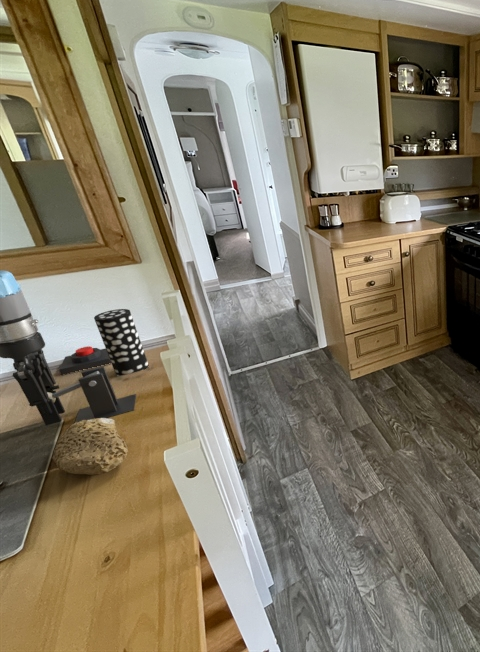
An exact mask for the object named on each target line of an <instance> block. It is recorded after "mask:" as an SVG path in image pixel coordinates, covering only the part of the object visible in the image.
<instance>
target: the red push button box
mask: <svg viewBox="0 0 480 652" xmlns="http://www.w3.org/2000/svg"><path fill="white" fill-rule="evenodd" d="M92 349H93V351H94V352H93V353H91V354H89V355H85V356H77V354H76V352H75V351H74V353H72V354H71V355H67V356H65V357H64V358H63V360H62V362H61V365H60V367H59V368H58V371H59V373H60V375H61V376H64V375H63V374H65V375H69V374H71V373H70V372H74V373H76V372H75V371H78V372H79V373H80V371H79V370H82V371H84V370H83V369H87V370H89V369H88V368H91V369H93V368H92V367H96V368H98V367H97V366H100V367H102V366H101V365H104V367H105V366H106V365H105V364H109V363H111V361H110V358H109V355H108V353H107V350H106V348H105V347H104V348H98V347H92ZM109 365H110V364H109ZM82 371H81V372H82ZM78 372H77V373H78ZM67 373H69V374H67Z"/></svg>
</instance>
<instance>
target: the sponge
mask: <svg viewBox="0 0 480 652" xmlns="http://www.w3.org/2000/svg"><path fill="white" fill-rule="evenodd" d="M127 455H128V447H127V444H126V442H125V440H124V438H123V437H122V436H120V435H119V431H117V425H116V420H115V419H113V418H97V419H90V420H82V421H80V422H76V423H75V422H74V423H73V424H70V425H69V427H68V428H67V429H66V430H65V431H64V432H63V433H62V434H61V435H60V436H59V439H58V440H57V442H56V444H55V447H54V450H53V455H52V457H51V458H52V460H53V462H54V463H55V465H56V468H57V469H60V470H61V471H64V473H69V474H72V475H73V474H74V475H88V476H89V475H90V476H91V475H99V474H102V473H103V474H105V473H108V472H110V471H112V470H114V469H116V468H117V467H119V466H120V465H121V464H122V463H123V462H124V461H125V459H126V457H127Z"/></svg>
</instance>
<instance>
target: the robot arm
mask: <svg viewBox="0 0 480 652" xmlns="http://www.w3.org/2000/svg"><path fill="white" fill-rule="evenodd" d="M38 323H39V320H38V319H35V318H34V317H33V315H32V312H31V310H30V307H29V306H28V302H27V300H26V298H25V296H24V293H23V291H22V289H21V285H20V284H19V283H18V282H17V280H16V278H15V276H14V274H13V273H12V272H10V271H8V270H0V358H1V359H11V360H13V363H12V367H13V369H14V370H15V371H16V372H12V377H13V378H14V379H15V381H16V382H17V383H18V385H19V387H20V389H21V391H22V393H23V395H24V396H25V398H26V400H27V402H28V403H29V404H28V406H29V407H36V409H37V411H38V413H39V414H40V416H41V419H42V421H43V422H44V425H45V426H49V425H50V426H51V425H52V424H53V425H54V424H57V423H61V422H62V420H63V419H62V417H61V414H64V413H66V410H65V408H64V406H63V403H62V401H61V399H60V396H59V397H57V398H56V400H55V402H54V403H53V401H52V399H50V398H49V397H48V394H47V392H49V393H52V394H53V393H55V392H57V391H56V390H59V389H60V385H59V384H56V383H57V381H56V380H55V378H54V376H53V373H52V371H51V369H50V366H49V364H48V361H47V359H46V356H45V353H44V350H43V349H44V348H45V347H46V342H45V340H44V338H43V336H42V333H41V332H39V328H38V326H37V324H38Z"/></svg>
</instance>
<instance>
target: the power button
mask: <svg viewBox="0 0 480 652" xmlns="http://www.w3.org/2000/svg"><path fill="white" fill-rule="evenodd" d="M92 348H93V346H89V345H88V346H82V347H79V348H78V349H76V350H75V351H74V353H75V352H76V354H77V356H85V355H89V354H91V353H93V352H94V351H93V349H92Z"/></svg>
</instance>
